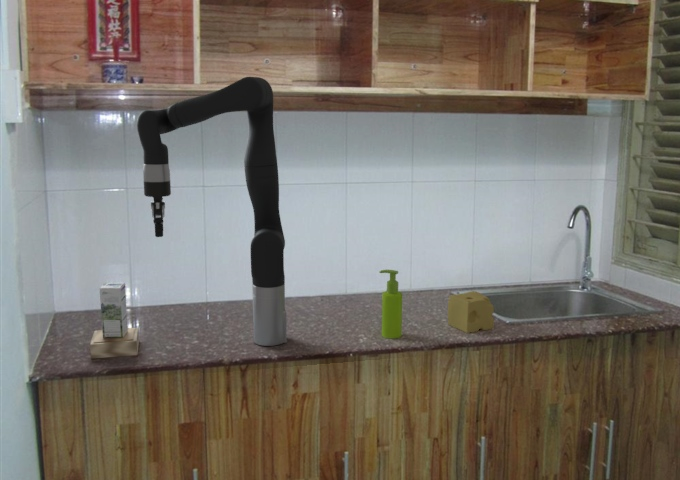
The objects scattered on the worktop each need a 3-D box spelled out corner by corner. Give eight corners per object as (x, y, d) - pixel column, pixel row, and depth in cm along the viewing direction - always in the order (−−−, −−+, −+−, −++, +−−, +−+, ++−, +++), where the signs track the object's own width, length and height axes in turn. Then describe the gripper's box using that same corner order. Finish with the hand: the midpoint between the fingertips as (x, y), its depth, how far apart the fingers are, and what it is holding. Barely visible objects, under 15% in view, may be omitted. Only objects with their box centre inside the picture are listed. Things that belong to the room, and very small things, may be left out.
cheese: (494, 329, 209) (495, 298, 207) (466, 334, 204) (467, 302, 202) (473, 320, 218) (474, 290, 216) (445, 324, 213) (446, 294, 211)
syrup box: (128, 331, 191) (125, 281, 188) (123, 338, 185) (120, 287, 183) (108, 331, 191) (104, 282, 188) (102, 338, 185) (98, 287, 182)
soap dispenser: (382, 330, 206) (383, 267, 203) (403, 333, 204) (405, 269, 200) (375, 336, 201) (376, 271, 197) (397, 339, 198) (399, 273, 195)
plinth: (138, 340, 196) (138, 326, 195) (137, 355, 185) (136, 340, 184) (95, 343, 193) (94, 329, 193) (91, 358, 182) (89, 343, 181)
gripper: (170, 181, 190) (172, 238, 193) (170, 177, 204) (172, 229, 207) (142, 182, 188) (145, 239, 191) (144, 177, 202) (146, 230, 205)
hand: (159, 234), depth 199 cm, fingers open, 8 cm apart
